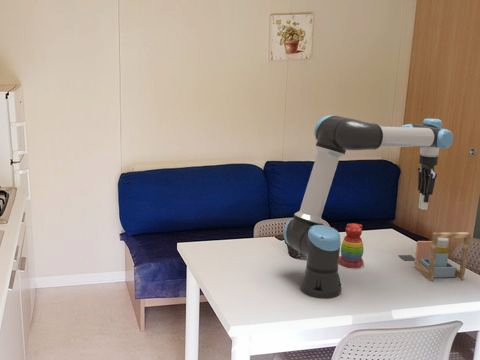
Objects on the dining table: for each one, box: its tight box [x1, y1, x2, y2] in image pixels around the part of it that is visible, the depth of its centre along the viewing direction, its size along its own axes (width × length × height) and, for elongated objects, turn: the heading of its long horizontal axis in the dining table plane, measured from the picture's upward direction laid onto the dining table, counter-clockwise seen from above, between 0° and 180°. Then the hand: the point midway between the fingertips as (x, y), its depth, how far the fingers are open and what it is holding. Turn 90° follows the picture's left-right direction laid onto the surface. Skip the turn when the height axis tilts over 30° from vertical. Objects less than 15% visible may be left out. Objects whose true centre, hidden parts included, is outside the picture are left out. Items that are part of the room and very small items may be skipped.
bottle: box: [429, 238, 450, 267], centre depth 223 cm, size 7×7×15 cm
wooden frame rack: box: [413, 231, 472, 282], centre depth 222 cm, size 15×14×20 cm
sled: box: [414, 240, 457, 278], centre depth 228 cm, size 10×18×9 cm, turn 8°
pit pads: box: [398, 254, 415, 262], centre depth 241 cm, size 16×6×1 cm, turn 98°
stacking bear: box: [338, 222, 365, 269], centre depth 229 cm, size 11×10×18 cm
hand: (422, 208), depth 237 cm, fingers closed
